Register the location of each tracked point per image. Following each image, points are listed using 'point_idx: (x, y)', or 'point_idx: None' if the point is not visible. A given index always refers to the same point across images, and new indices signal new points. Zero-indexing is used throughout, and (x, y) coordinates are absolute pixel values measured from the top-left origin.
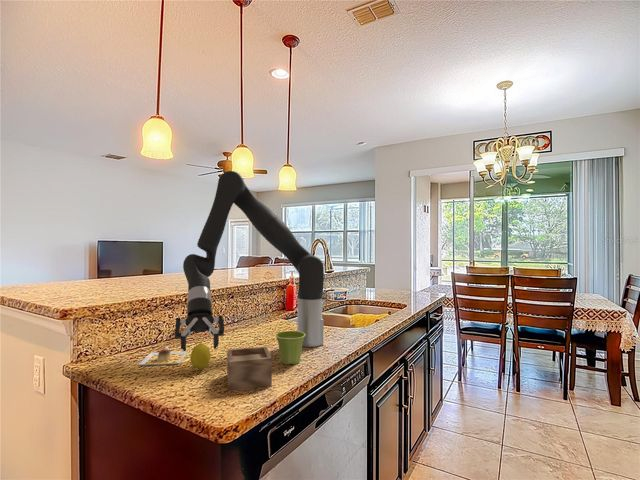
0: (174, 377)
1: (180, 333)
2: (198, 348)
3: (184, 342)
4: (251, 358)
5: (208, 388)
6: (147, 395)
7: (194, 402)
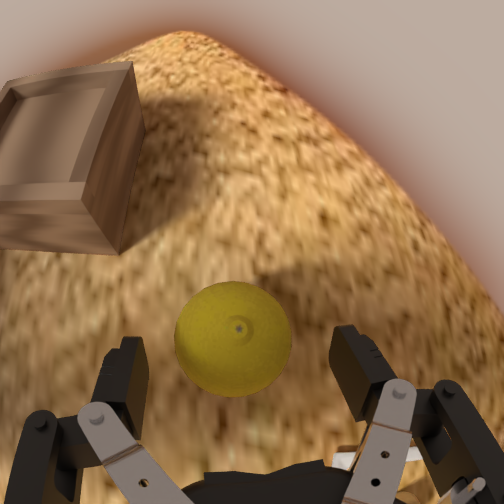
0: (331, 292)
1: (423, 409)
2: (250, 294)
3: (360, 346)
4: (28, 144)
5: (200, 156)
6: (372, 168)
7: (241, 96)
